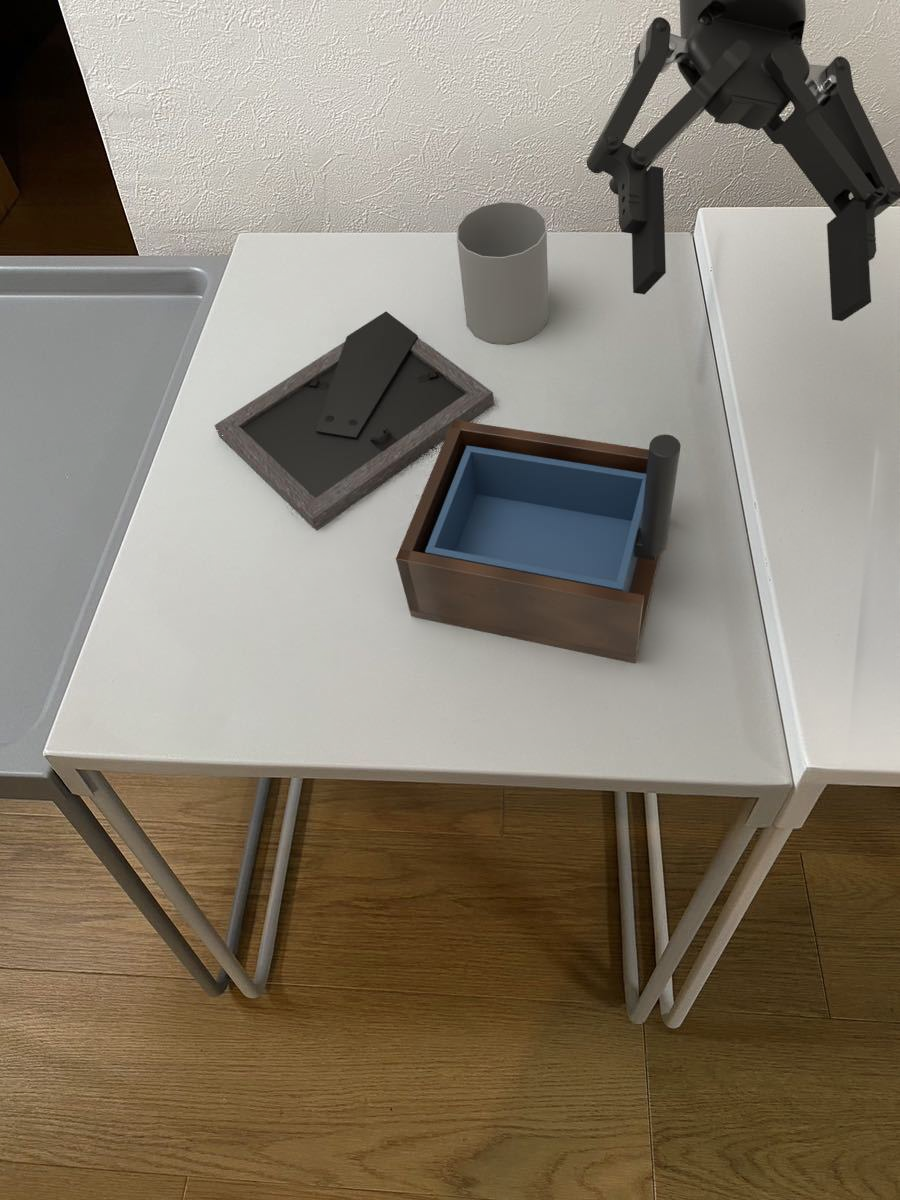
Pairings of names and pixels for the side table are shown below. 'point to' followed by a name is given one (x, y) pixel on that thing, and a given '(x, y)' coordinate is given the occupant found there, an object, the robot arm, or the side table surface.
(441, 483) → the walnut drawer box
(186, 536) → the side table surface
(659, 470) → the blue drawer insert
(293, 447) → the picture frame
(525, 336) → the cup
